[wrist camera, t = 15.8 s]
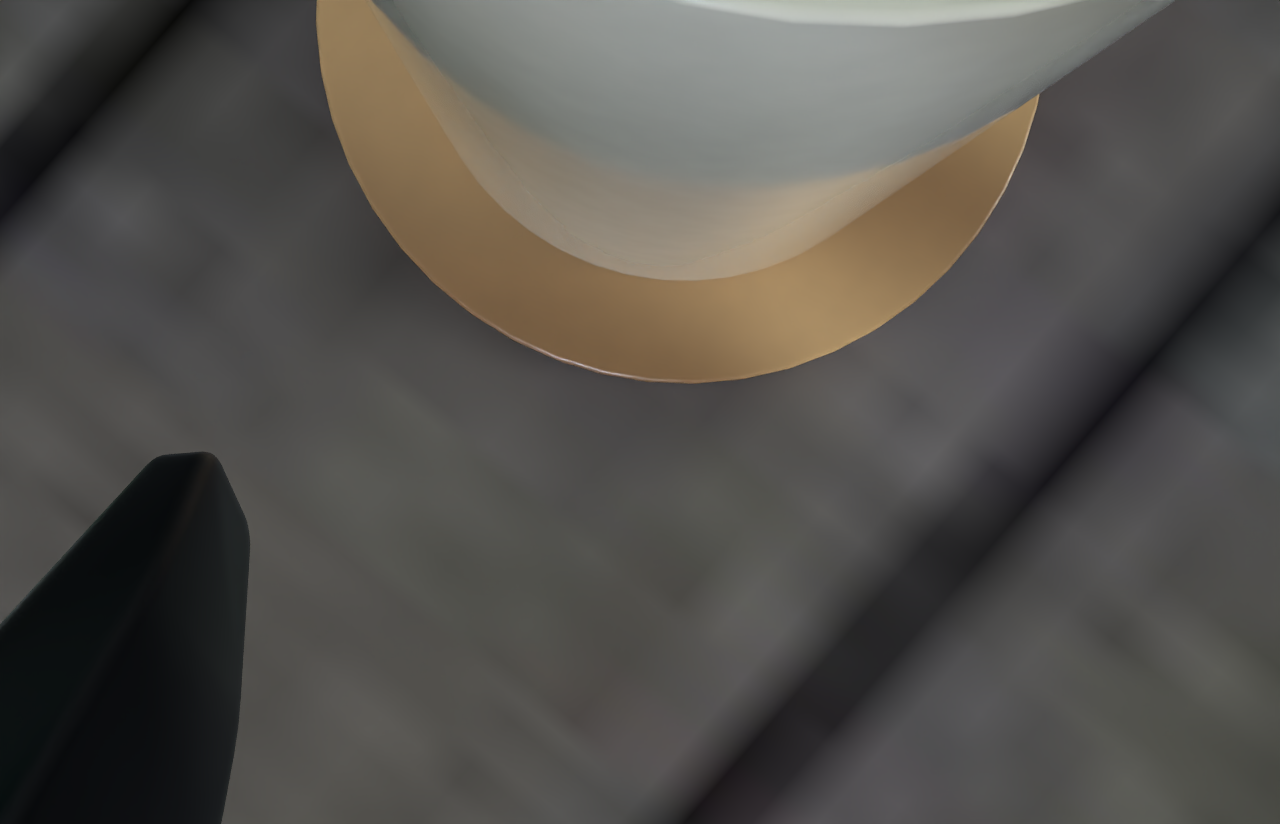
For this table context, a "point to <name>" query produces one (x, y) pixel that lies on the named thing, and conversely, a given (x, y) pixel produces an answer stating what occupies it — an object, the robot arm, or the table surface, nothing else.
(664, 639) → the table surface
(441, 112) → the cup
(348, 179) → the table surface
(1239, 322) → the table surface
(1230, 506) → the table surface
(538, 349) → the coaster
